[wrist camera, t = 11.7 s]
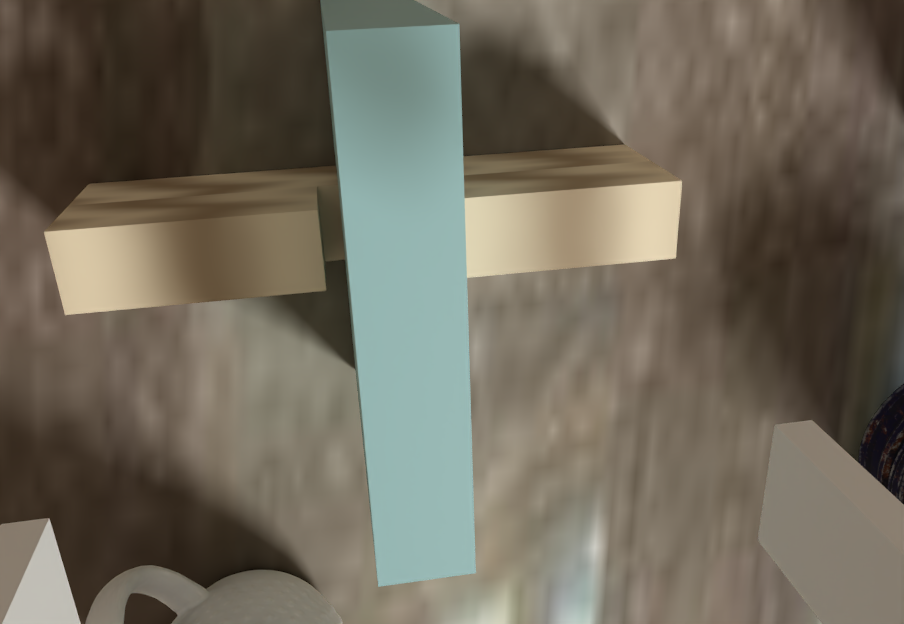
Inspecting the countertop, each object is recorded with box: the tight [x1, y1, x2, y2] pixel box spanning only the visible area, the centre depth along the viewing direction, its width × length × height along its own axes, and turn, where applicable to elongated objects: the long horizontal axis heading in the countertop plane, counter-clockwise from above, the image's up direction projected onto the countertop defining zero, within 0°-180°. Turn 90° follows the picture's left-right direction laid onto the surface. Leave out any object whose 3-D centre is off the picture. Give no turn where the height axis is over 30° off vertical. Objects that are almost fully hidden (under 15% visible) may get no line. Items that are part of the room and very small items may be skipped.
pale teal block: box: [320, 0, 476, 587], centre depth 28 cm, size 16×3×14 cm, turn 2°
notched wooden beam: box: [44, 144, 682, 315], centre depth 31 cm, size 22×3×6 cm, turn 92°
